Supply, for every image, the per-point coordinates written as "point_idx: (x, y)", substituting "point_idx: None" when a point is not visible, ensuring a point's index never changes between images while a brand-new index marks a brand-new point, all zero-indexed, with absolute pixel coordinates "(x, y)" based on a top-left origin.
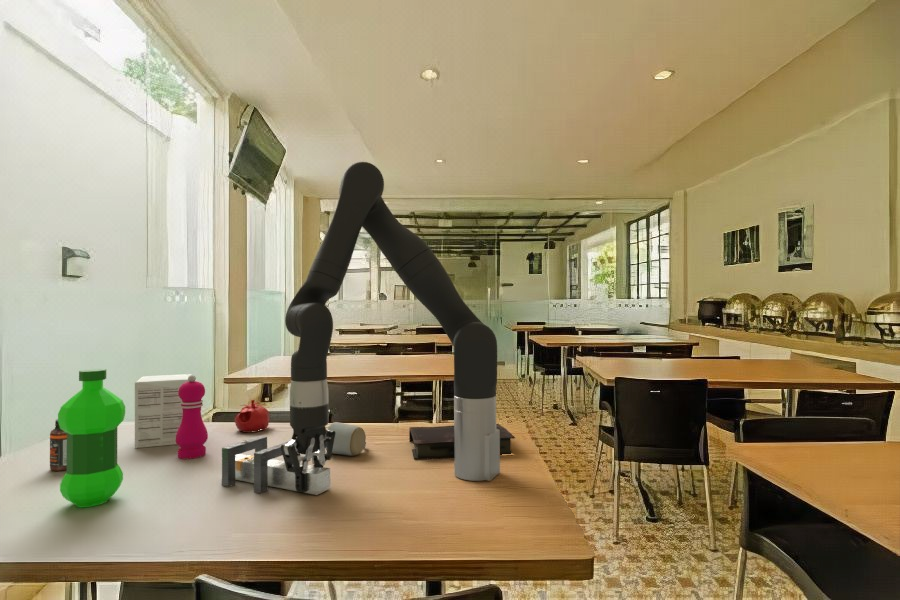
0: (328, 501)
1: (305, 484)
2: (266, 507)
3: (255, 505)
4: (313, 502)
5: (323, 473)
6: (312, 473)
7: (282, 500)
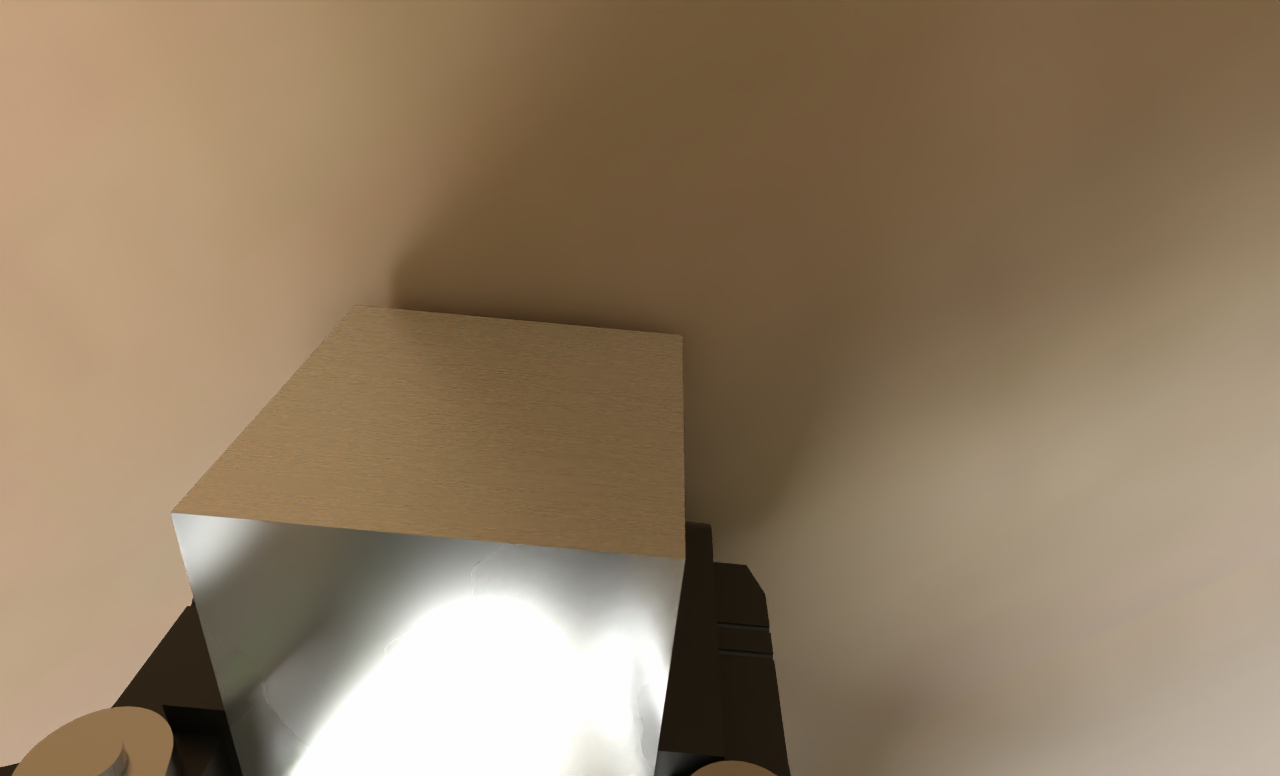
0: (809, 20)
1: (700, 594)
2: (1157, 655)
3: (1105, 760)
4: (906, 242)
5: (451, 500)
6: (666, 658)
7: (918, 624)
